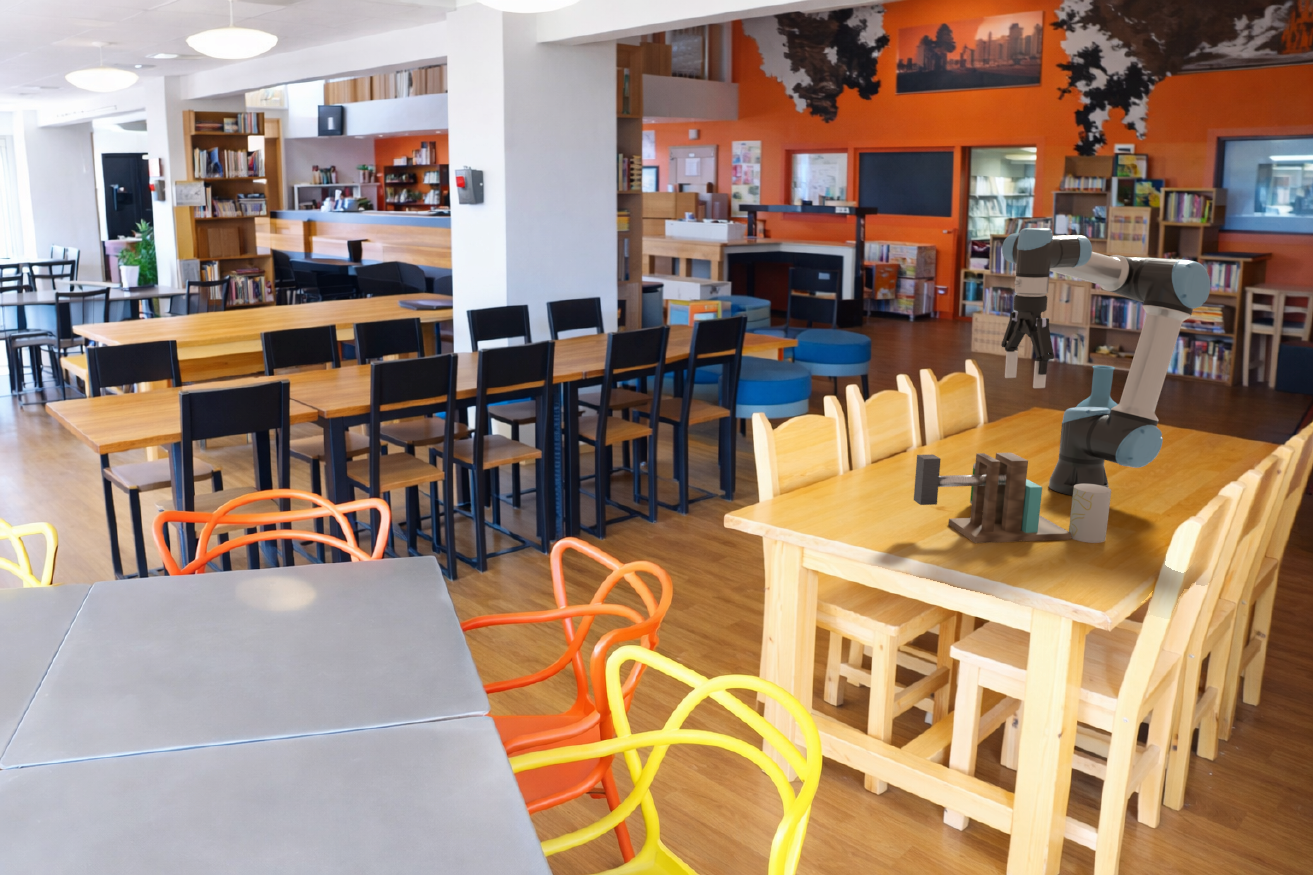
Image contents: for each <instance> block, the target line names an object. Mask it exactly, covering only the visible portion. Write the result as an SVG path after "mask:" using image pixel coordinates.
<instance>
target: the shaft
mask: <svg viewBox="0 0 1313 875" xmlns="http://www.w3.org/2000/svg"><path fill="white" fill-rule="evenodd" d="M915 464H916V465H915V478H914V489H913V490H914V491H913V501H914V502H915V503H917V504H919V505H920V506H928V505H929V506H934V505H935V506H936V505H938V494H939V493H938V492H939V488H943V487H944V488H945V487H946V488H947V487H948V488H949V487H950V488H952V487H954V488H955V487H971V486H985V485H986V475H973V474H960V475H959V474H958V475H957V474H956V475H940V472H941V471H940V469H941V458H940V457H939V456H938V455H937V456H936V454H932V453H931V454H916V463H915ZM1005 484H1006V474H999V478H998V485H1005Z"/></svg>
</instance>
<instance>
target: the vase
mask: <svg viewBox="0 0 1313 875" xmlns="http://www.w3.org/2000/svg"><path fill="white" fill-rule="evenodd" d="M1091 368H1093V374H1092V382H1091V383H1092V384H1091V393H1090V395H1089V396H1088V397H1087V398H1086V399H1083V400H1082V401H1080V402H1079V403H1078V404H1077V405H1076V406H1075V407H1104V408H1108V409H1110V411H1111V408H1113V407H1115V406H1117V405H1118V404H1119V403H1117V402H1116V401H1114V400H1113V399H1112V397H1111V392H1112V385H1113V377H1114V370H1115V369H1116V367H1114V366H1110V365H1093V366H1091Z"/></svg>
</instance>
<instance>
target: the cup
mask: <svg viewBox="0 0 1313 875" xmlns="http://www.w3.org/2000/svg"><path fill="white" fill-rule="evenodd" d="M1111 496H1112V489H1111V488H1110V487H1109V486H1108V487H1105V486H1101V485H1095V484H1076V485H1074V489H1073V495H1072V497H1071V498H1072V499H1071V509H1070V519H1069V526H1068V532H1070V533H1071V540H1075V541H1078V542H1083V543H1090V544H1091V543H1092V544H1098V543H1104V542H1105V541H1106V537H1107V529H1108V522H1109V521H1108V520H1109V514H1110V513H1109V512H1110V505H1111Z"/></svg>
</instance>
